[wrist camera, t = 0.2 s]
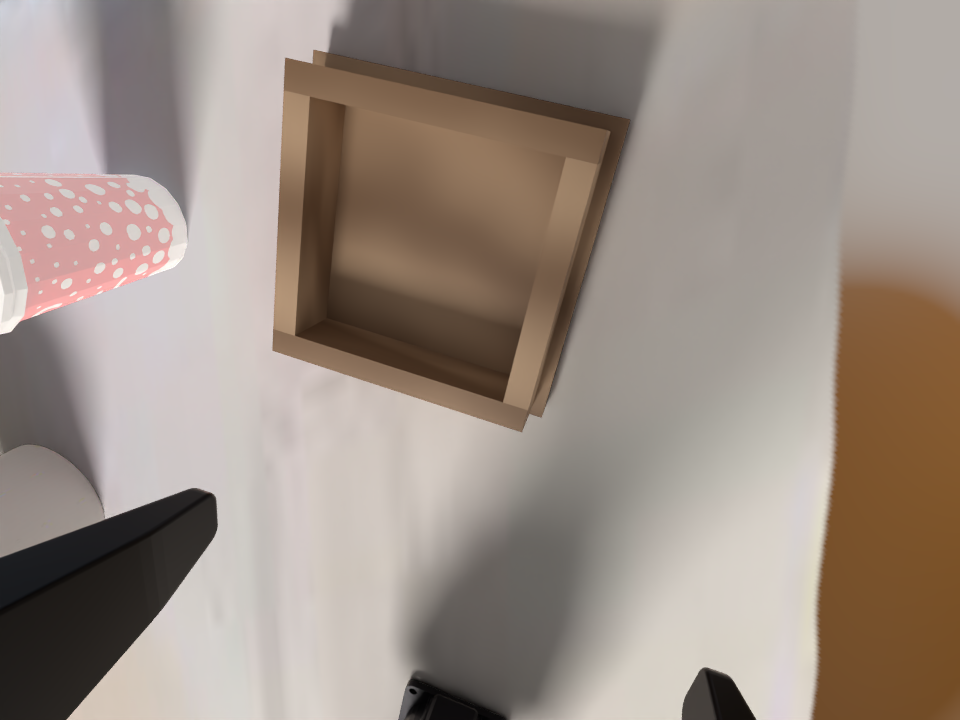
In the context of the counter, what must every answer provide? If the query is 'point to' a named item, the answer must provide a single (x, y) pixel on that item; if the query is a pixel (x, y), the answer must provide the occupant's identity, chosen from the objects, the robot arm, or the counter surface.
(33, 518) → the grey upright cylinder
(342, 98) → the tray
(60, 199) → the beverage cup
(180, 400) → the counter surface
